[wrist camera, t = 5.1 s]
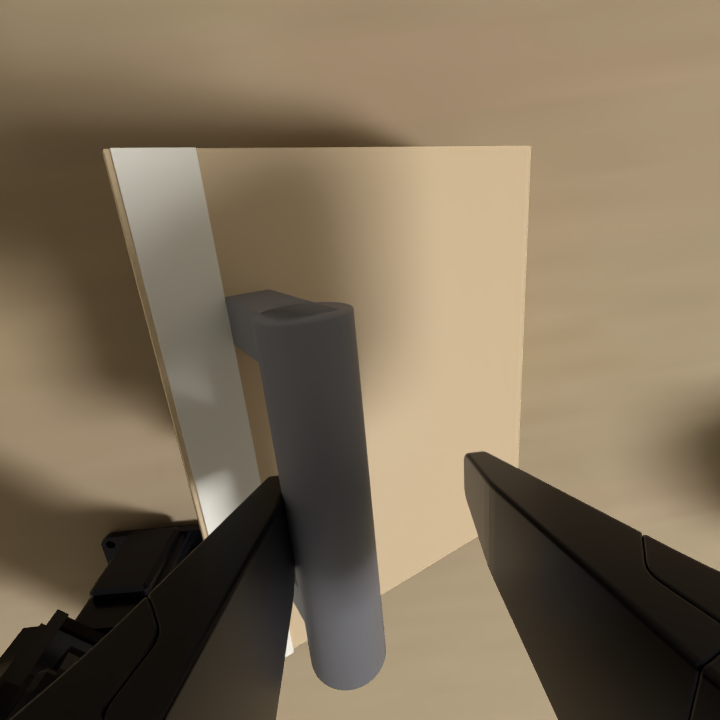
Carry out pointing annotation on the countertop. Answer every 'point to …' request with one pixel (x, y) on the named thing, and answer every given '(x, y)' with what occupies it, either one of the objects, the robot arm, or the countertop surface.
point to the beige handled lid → (335, 351)
